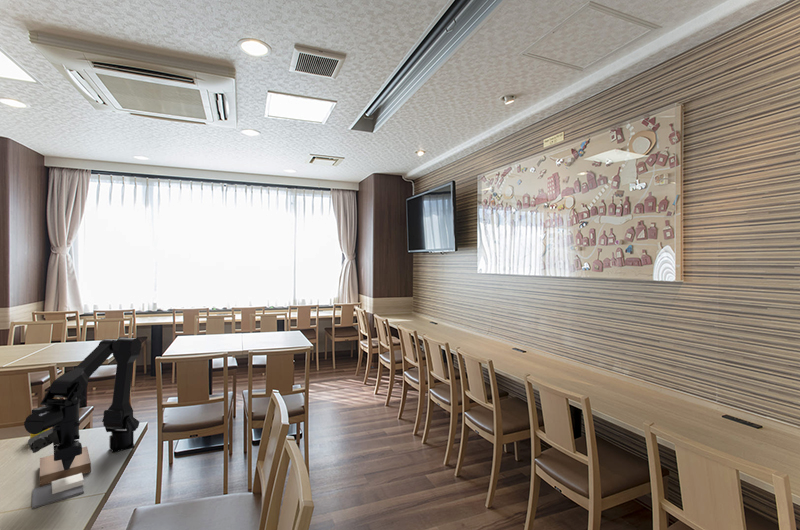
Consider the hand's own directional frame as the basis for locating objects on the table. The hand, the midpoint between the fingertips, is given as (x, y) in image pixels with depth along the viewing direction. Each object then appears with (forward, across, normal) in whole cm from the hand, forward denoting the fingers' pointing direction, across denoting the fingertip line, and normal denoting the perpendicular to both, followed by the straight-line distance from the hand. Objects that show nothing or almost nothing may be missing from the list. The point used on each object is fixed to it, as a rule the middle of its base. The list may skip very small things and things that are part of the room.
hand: (66, 469), depth 117 cm
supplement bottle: (+4, -42, -6) cm, 43 cm away
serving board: (+4, -10, 0) cm, 10 cm away
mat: (+4, +4, -2) cm, 6 cm away
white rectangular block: (+2, +3, 0) cm, 4 cm away
